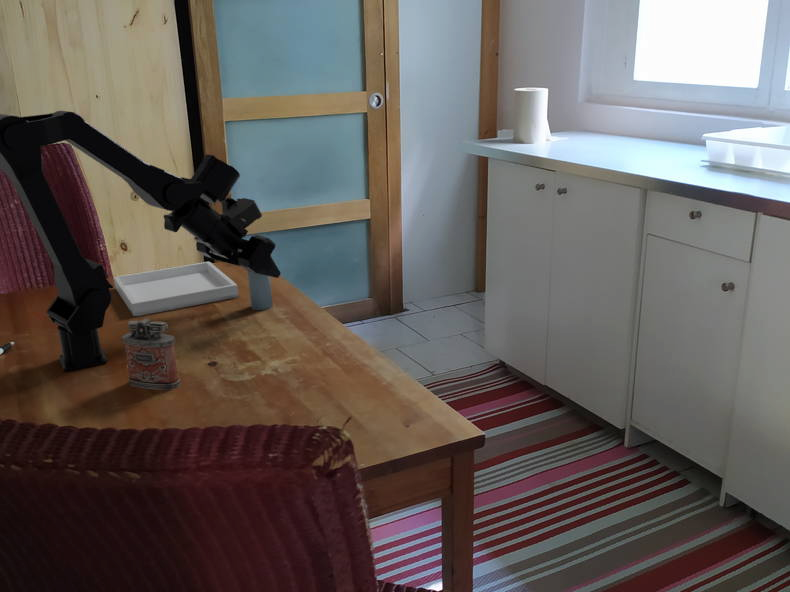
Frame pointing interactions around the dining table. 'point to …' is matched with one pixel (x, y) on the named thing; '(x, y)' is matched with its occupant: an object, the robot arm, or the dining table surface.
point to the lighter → (151, 356)
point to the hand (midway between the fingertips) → (264, 270)
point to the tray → (174, 288)
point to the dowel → (260, 291)
